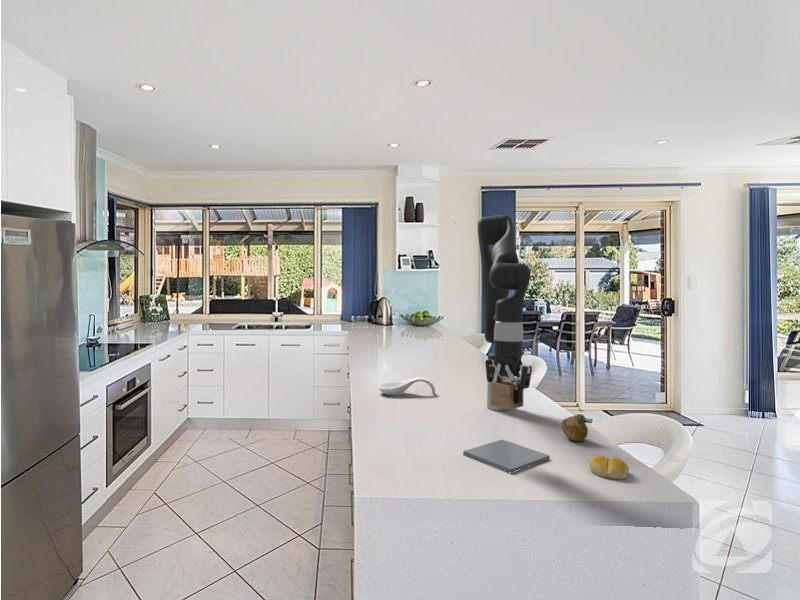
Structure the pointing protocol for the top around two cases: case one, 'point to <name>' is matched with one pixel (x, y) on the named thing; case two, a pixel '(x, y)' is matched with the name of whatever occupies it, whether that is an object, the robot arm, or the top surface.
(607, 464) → the bread roll
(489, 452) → the slate plate
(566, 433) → the onion
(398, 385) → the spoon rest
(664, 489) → the top surface
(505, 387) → the walnut block
